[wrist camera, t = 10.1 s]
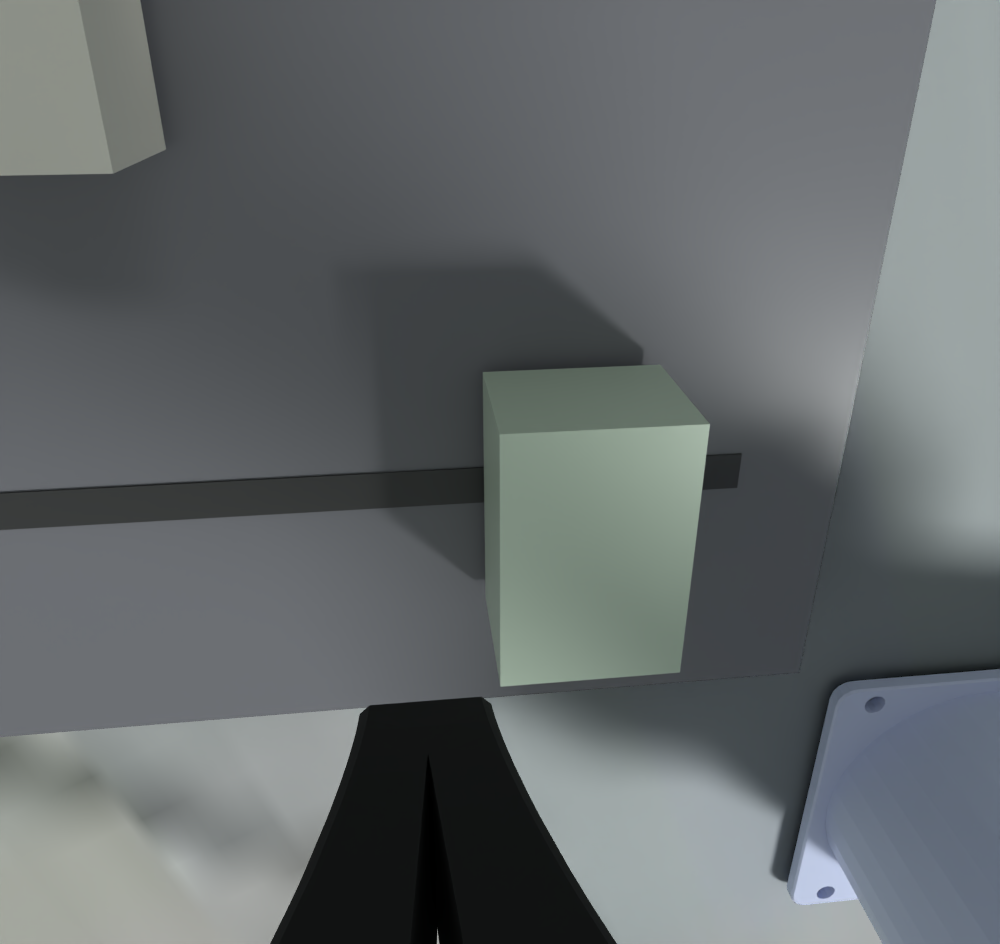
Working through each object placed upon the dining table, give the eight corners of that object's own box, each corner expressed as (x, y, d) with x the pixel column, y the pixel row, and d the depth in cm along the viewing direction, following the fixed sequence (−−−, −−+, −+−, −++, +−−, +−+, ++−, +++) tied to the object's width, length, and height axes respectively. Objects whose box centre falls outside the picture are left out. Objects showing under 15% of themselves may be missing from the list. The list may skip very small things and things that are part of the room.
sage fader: (659, 364, 14) (710, 423, 12) (640, 586, 16) (680, 672, 14) (482, 372, 14) (499, 435, 12) (485, 596, 16) (500, 686, 14)
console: (944, -440, 12) (1046, -528, 10) (762, 616, 20) (799, 673, 18) (-501, -523, 10) (-703, -651, 8) (-44, 675, 18) (-92, 745, 16)
